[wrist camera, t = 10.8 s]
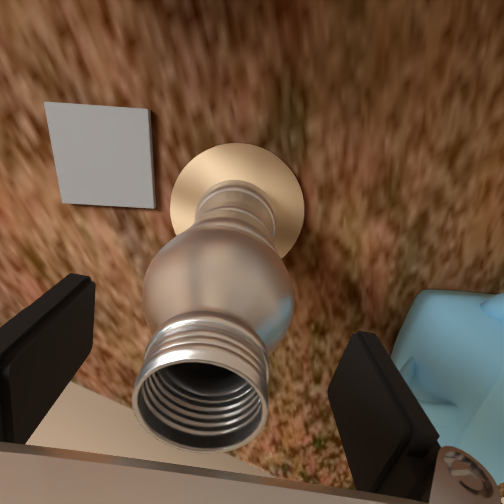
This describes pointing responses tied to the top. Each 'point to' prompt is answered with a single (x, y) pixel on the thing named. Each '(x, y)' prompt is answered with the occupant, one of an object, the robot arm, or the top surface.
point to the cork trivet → (245, 169)
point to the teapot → (458, 369)
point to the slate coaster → (102, 154)
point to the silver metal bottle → (214, 324)
